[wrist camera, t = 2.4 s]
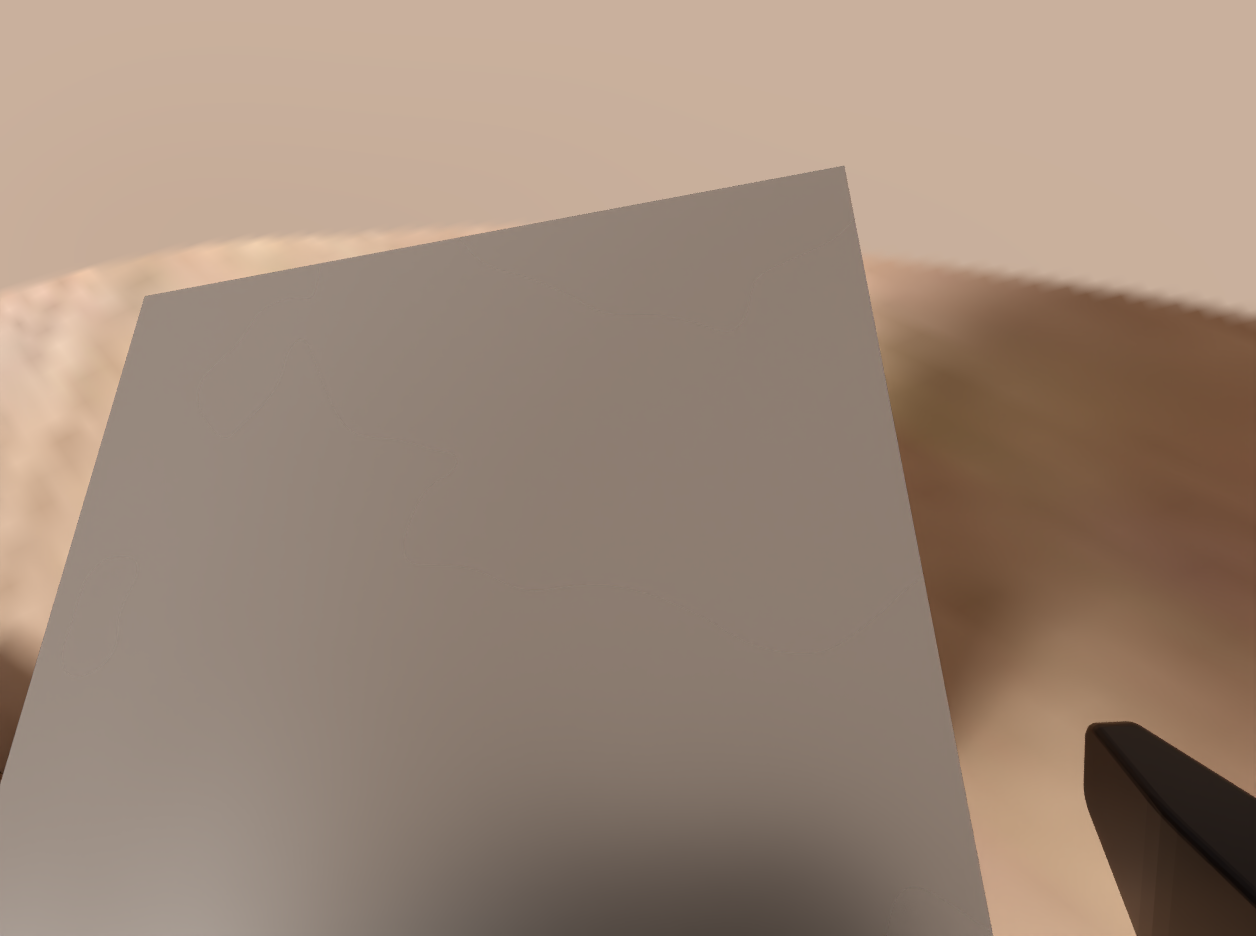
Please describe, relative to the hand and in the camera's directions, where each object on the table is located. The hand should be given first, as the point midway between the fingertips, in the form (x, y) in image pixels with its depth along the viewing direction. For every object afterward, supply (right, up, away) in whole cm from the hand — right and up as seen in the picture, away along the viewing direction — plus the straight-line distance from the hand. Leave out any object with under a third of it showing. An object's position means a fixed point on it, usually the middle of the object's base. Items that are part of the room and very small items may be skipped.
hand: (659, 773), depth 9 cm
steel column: (+2, -3, +8) cm, 9 cm away
